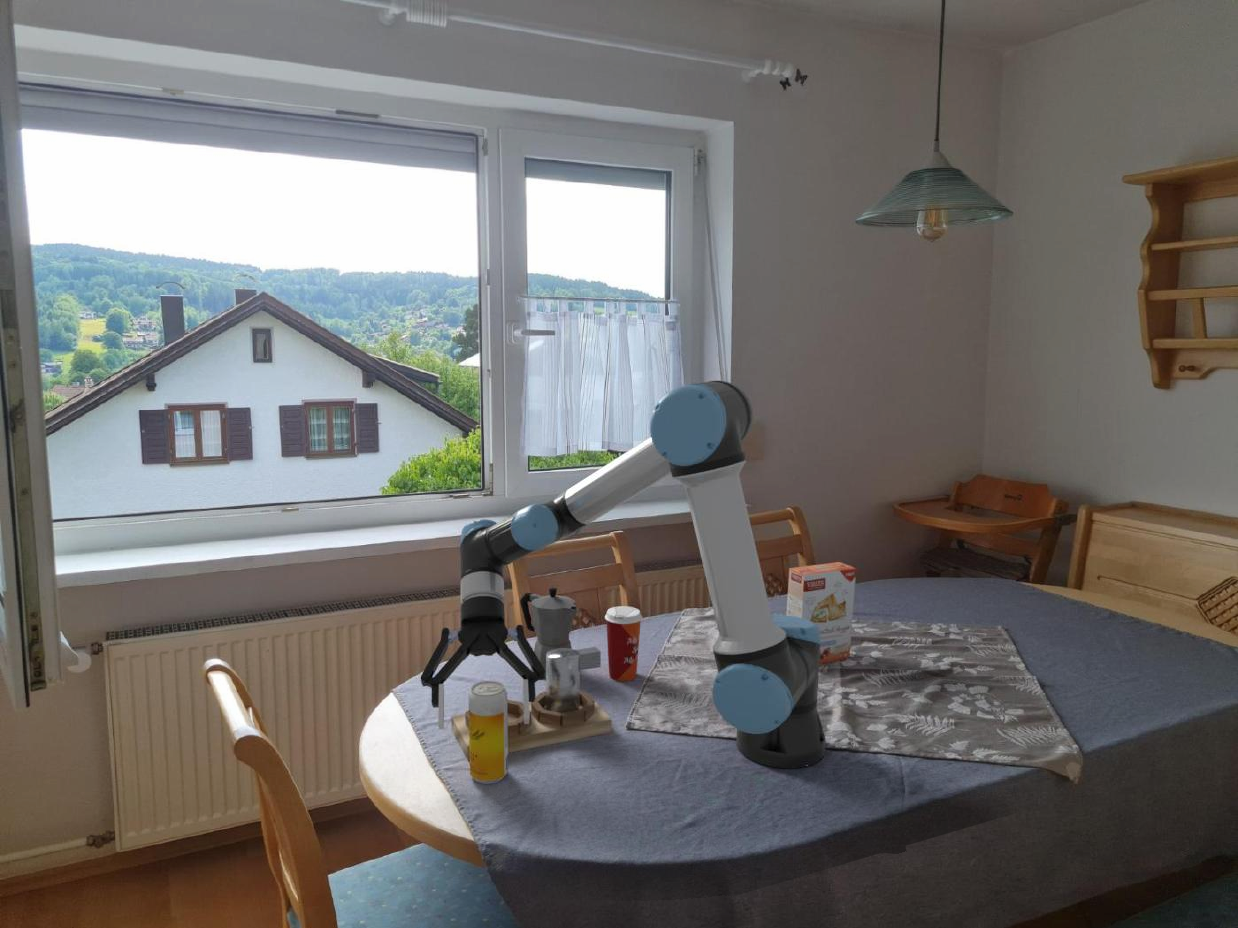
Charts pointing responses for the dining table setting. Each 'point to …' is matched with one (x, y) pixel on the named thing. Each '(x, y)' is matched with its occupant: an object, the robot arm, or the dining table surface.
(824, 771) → the dining table surface
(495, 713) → the beer can
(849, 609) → the cracker box
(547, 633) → the coffeepot
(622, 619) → the paper cup
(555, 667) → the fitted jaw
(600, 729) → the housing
